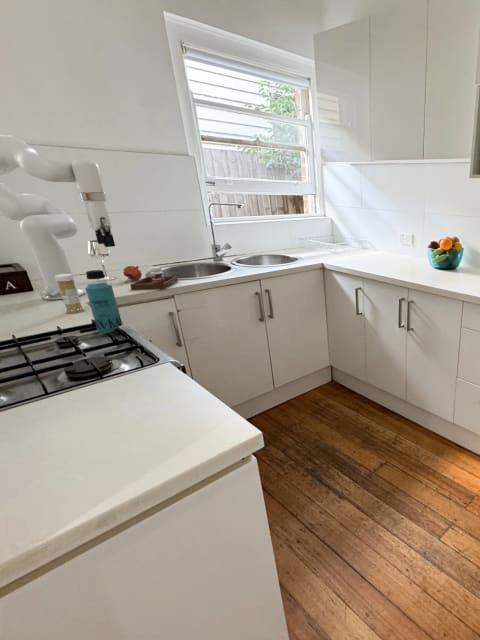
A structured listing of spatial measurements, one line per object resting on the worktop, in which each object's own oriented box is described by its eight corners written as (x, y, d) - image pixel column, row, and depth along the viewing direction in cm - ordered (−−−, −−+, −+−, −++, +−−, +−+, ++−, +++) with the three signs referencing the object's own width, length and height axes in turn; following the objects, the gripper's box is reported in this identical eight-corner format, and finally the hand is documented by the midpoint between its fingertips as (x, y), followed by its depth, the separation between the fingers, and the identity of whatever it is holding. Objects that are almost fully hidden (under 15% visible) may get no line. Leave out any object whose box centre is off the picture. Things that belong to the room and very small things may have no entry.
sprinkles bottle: (65, 311, 137) (53, 274, 132) (81, 308, 141) (70, 272, 136) (68, 314, 135) (56, 276, 130) (85, 311, 138) (73, 274, 133)
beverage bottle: (97, 334, 117) (77, 270, 110) (123, 329, 122) (106, 267, 114) (101, 340, 113) (80, 274, 106) (127, 335, 118) (109, 271, 110)
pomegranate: (135, 287, 179) (149, 271, 184) (120, 276, 174) (135, 260, 178) (128, 286, 183) (142, 271, 187) (113, 276, 178) (128, 260, 182)
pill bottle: (152, 287, 169) (147, 268, 166) (155, 285, 173) (151, 266, 170) (164, 287, 170) (159, 268, 167) (167, 284, 175) (163, 266, 171)
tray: (164, 289, 169) (163, 283, 168) (131, 290, 166) (130, 284, 165) (177, 281, 182) (176, 276, 181) (147, 282, 180) (146, 276, 179)
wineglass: (99, 281, 179) (87, 242, 172) (93, 279, 183) (82, 241, 176) (119, 278, 185) (109, 241, 178) (113, 276, 189) (103, 239, 183)
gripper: (75, 196, 143) (89, 243, 149) (86, 198, 132) (100, 248, 139) (100, 196, 148) (112, 241, 154) (112, 198, 137) (124, 246, 144)
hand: (106, 245), depth 147 cm, fingers open, 9 cm apart
